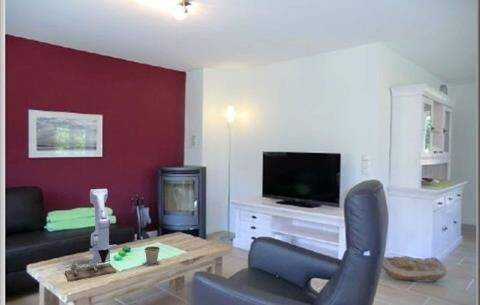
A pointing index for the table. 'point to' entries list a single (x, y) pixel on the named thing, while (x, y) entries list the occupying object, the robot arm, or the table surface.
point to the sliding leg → (93, 265)
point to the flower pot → (152, 254)
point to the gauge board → (88, 271)
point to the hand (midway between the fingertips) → (103, 262)
